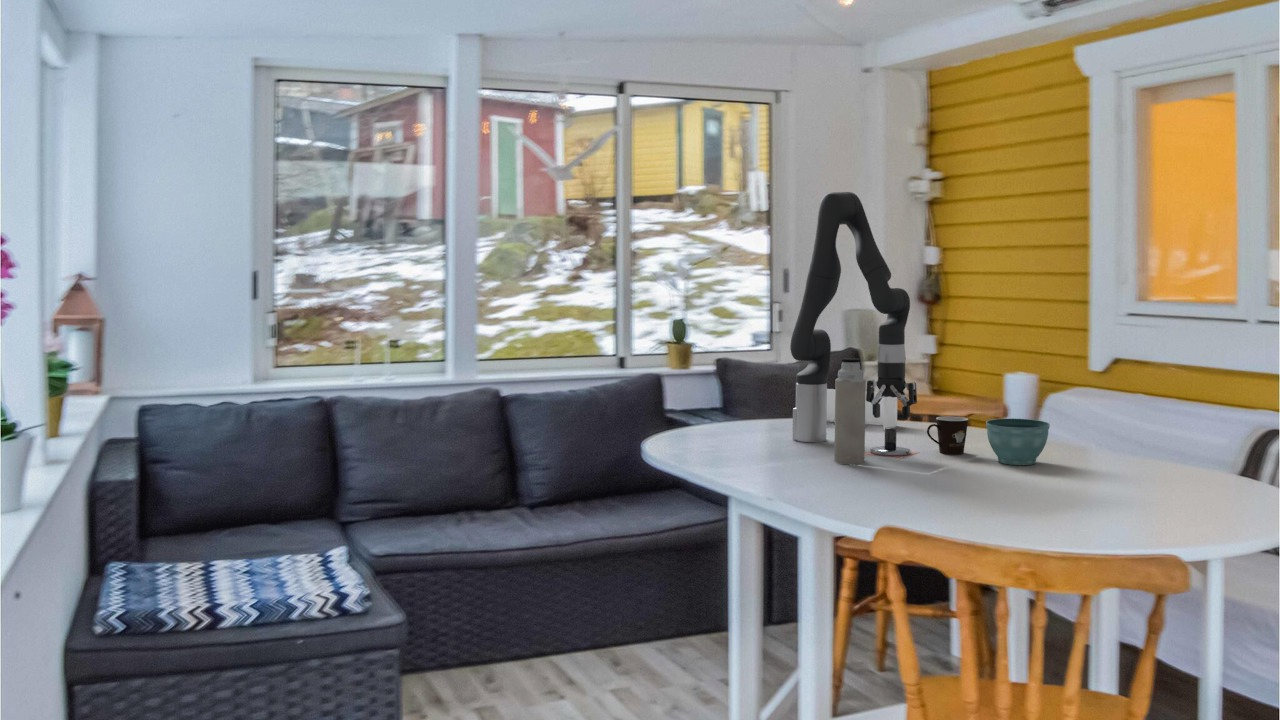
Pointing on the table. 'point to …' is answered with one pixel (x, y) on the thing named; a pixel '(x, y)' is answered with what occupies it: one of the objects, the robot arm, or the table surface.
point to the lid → (890, 445)
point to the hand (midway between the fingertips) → (891, 418)
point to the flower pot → (1017, 439)
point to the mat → (892, 457)
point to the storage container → (869, 410)
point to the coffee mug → (950, 434)
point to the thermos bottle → (850, 413)
